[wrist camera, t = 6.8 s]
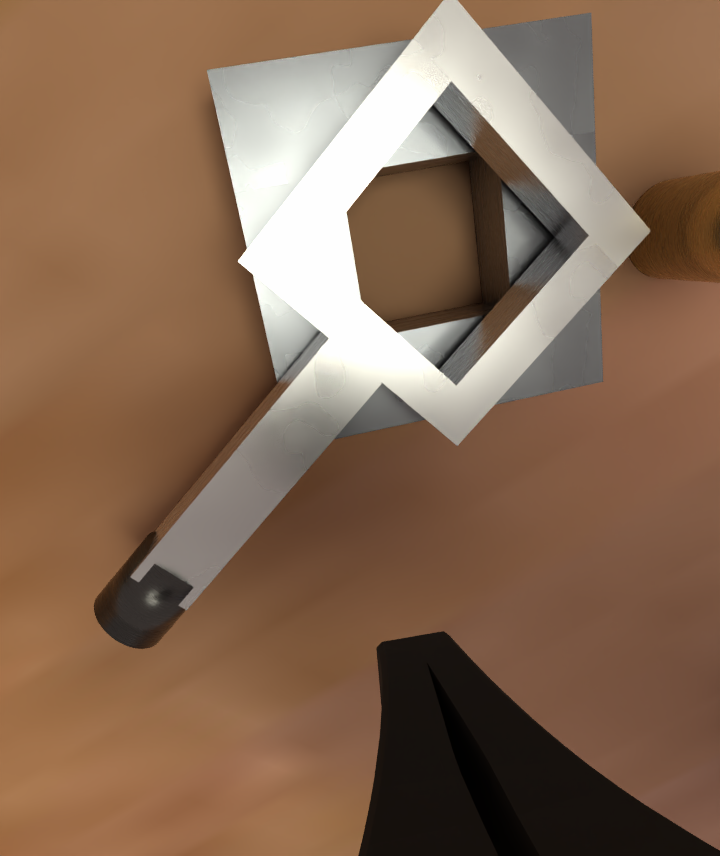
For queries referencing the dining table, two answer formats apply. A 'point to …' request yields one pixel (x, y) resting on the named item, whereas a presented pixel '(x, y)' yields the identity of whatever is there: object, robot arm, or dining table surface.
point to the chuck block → (423, 148)
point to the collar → (366, 332)
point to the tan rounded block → (681, 229)
